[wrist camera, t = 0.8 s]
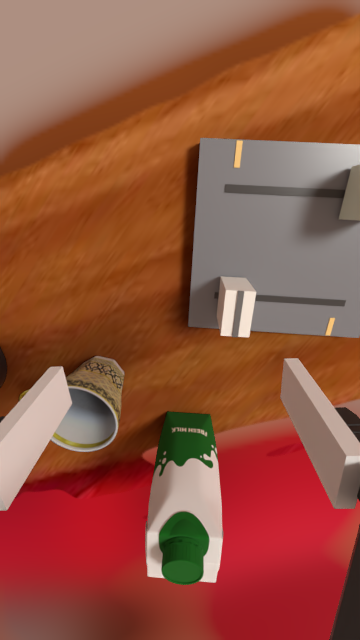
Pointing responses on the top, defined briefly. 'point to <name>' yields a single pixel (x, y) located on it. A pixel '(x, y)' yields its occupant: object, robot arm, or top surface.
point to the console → (277, 235)
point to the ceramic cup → (91, 406)
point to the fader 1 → (235, 306)
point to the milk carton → (185, 503)
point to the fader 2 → (352, 196)
